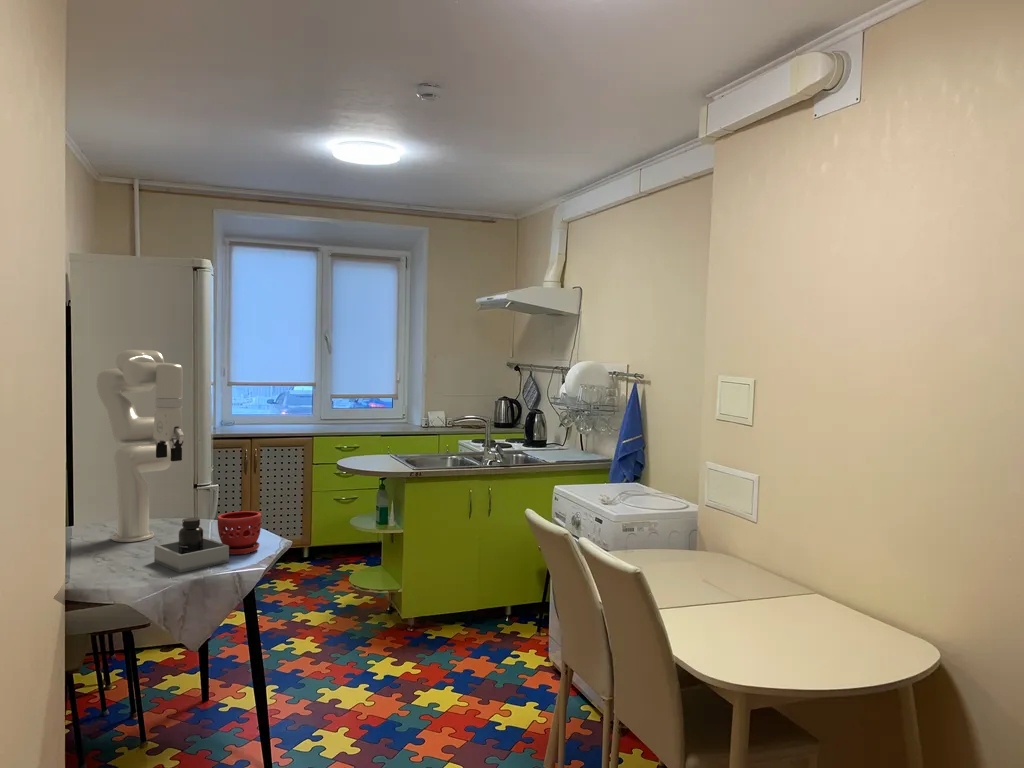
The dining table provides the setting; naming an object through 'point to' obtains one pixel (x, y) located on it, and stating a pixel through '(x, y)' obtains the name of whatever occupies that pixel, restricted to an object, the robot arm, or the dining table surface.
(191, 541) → the supplement bottle
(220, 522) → the plant pot
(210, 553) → the tray
